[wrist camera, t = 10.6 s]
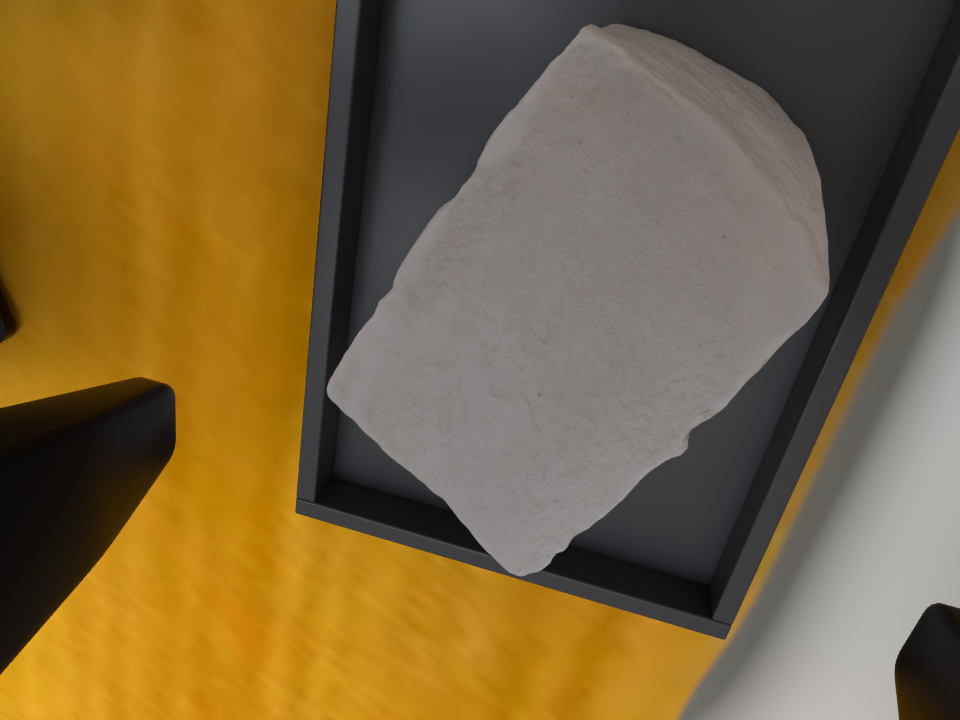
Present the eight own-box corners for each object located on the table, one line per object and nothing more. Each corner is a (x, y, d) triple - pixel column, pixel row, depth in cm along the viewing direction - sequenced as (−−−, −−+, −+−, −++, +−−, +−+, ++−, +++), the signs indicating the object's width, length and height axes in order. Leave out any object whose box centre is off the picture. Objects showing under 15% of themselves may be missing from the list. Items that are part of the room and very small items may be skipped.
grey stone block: (647, 54, 17) (638, -89, 12) (868, 236, 16) (978, 176, 11) (368, 374, 19) (242, 384, 13) (552, 557, 18) (501, 653, 12)
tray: (721, 594, 19) (725, 641, 18) (319, 478, 21) (294, 513, 19) (1009, -66, 13) (1053, -75, 11) (383, -179, 14) (351, -199, 12)
